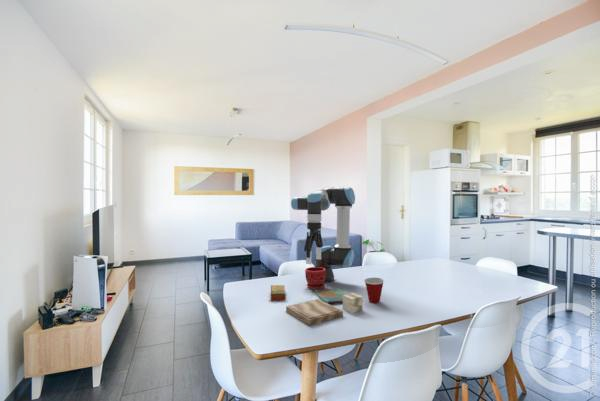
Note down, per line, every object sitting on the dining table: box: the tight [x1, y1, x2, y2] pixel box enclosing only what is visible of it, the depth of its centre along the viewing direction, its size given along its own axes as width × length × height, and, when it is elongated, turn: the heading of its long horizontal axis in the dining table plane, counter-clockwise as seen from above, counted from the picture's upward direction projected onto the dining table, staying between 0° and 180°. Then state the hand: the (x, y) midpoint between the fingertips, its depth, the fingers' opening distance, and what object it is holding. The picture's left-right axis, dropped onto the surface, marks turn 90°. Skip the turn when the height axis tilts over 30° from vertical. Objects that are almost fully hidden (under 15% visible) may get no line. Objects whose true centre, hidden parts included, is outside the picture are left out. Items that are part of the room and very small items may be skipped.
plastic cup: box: [363, 277, 385, 304], centre depth 162 cm, size 11×11×12 cm
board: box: [285, 298, 344, 327], centre depth 144 cm, size 20×20×3 cm
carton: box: [270, 284, 286, 302], centre depth 170 cm, size 8×16×4 cm, turn 6°
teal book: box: [313, 287, 347, 306], centre depth 169 cm, size 17×23×2 cm
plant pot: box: [304, 266, 326, 290], centre depth 187 cm, size 13×13×12 cm
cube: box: [342, 292, 363, 314], centre depth 150 cm, size 7×7×7 cm
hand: (313, 261), depth 157 cm, fingers open, 13 cm apart
